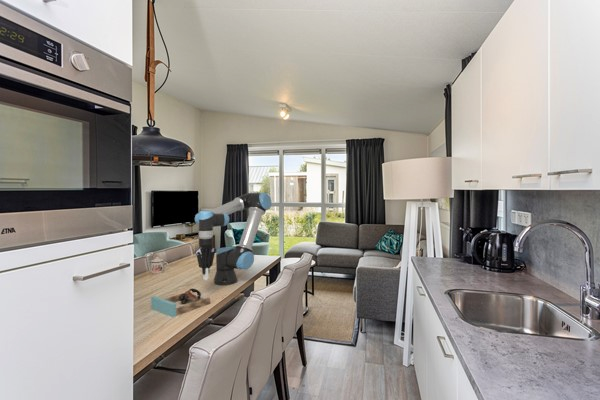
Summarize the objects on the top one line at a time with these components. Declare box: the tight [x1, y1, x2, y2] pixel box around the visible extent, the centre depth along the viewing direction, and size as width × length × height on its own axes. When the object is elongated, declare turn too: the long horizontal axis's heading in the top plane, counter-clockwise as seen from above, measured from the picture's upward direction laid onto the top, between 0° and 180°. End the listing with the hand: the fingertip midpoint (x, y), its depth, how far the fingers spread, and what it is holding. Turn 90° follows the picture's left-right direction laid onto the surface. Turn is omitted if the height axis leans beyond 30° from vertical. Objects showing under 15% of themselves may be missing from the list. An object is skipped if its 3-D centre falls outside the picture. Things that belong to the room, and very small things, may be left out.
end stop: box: [150, 295, 177, 318], centre depth 151 cm, size 2×19×6 cm, turn 55°
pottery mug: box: [178, 288, 202, 304], centre depth 164 cm, size 12×10×8 cm
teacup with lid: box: [150, 256, 169, 275], centre depth 229 cm, size 12×9×12 cm
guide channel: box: [164, 292, 211, 317], centre depth 160 cm, size 20×19×3 cm
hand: (205, 279), depth 172 cm, fingers closed
